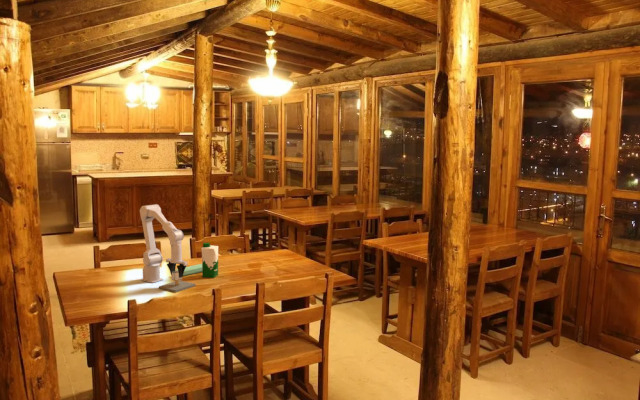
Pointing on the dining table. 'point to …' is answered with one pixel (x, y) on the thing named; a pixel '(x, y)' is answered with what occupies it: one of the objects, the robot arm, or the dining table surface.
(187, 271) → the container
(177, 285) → the shaft stand
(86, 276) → the dining table surface
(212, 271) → the milk carton
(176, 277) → the hub ring
